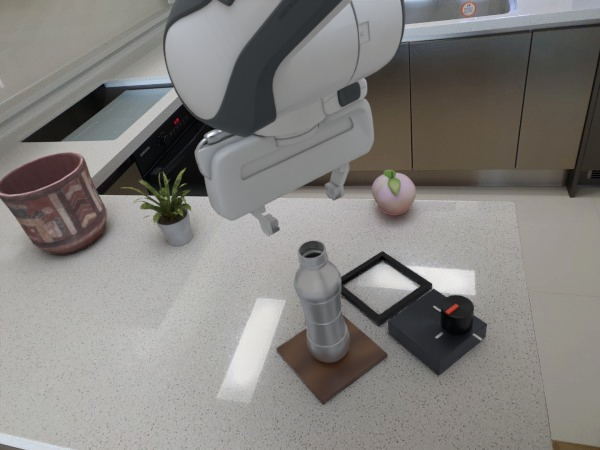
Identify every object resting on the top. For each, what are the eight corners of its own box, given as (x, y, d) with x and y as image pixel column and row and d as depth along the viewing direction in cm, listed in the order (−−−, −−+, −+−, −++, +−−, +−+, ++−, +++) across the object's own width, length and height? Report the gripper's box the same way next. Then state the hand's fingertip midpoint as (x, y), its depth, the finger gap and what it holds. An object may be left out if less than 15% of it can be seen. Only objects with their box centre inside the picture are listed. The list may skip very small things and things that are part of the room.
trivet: (387, 356, 68) (387, 353, 67) (323, 405, 63) (322, 401, 63) (336, 311, 76) (336, 308, 76) (276, 351, 72) (275, 348, 71)
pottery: (99, 259, 99) (60, 189, 88) (24, 268, 101) (-23, 200, 90) (126, 212, 113) (95, 146, 102) (59, 220, 115) (22, 157, 104)
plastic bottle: (352, 332, 71) (338, 230, 60) (351, 369, 66) (336, 266, 54) (311, 333, 72) (289, 234, 61) (307, 370, 67) (283, 269, 55)
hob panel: (499, 337, 67) (501, 323, 65) (446, 382, 63) (446, 368, 61) (438, 297, 75) (439, 283, 73) (388, 333, 71) (387, 320, 69)
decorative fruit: (423, 220, 92) (423, 177, 86) (385, 230, 91) (382, 188, 85) (404, 196, 100) (403, 156, 94) (368, 206, 99) (365, 165, 93)
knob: (454, 306, 69) (455, 288, 67) (479, 323, 66) (481, 305, 64) (434, 322, 68) (434, 304, 65) (458, 339, 64) (459, 321, 62)
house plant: (138, 269, 94) (106, 203, 84) (146, 230, 105) (118, 168, 95) (207, 254, 94) (183, 187, 85) (207, 216, 106) (186, 153, 96)
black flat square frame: (432, 288, 77) (432, 283, 76) (379, 326, 72) (378, 321, 72) (382, 255, 86) (382, 250, 85) (332, 287, 81) (331, 282, 80)
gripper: (203, 150, 40) (241, 268, 48) (379, 75, 48) (386, 187, 56) (176, 131, 44) (215, 242, 52) (340, 65, 52) (352, 171, 60)
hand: (304, 213), depth 54 cm, fingers open, 8 cm apart
